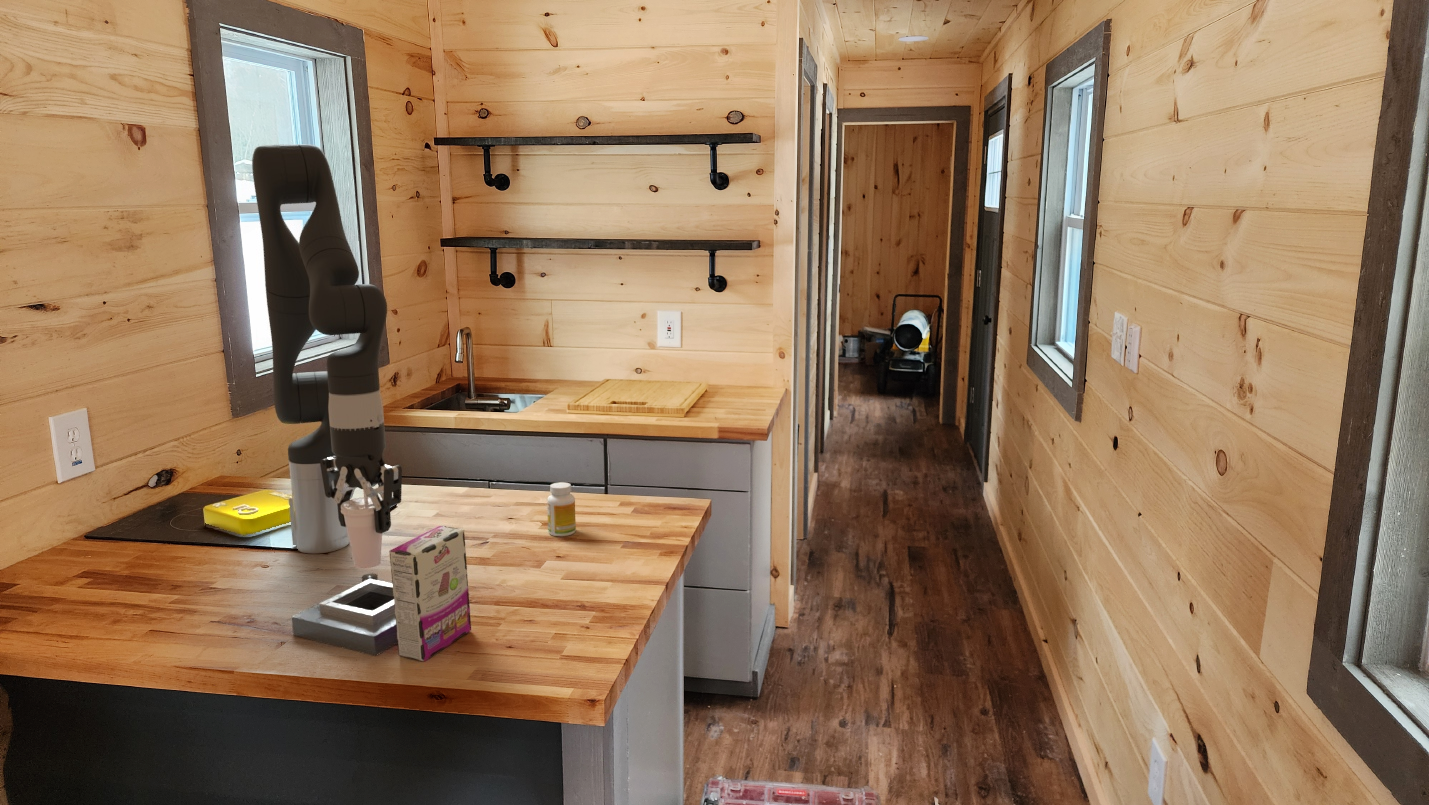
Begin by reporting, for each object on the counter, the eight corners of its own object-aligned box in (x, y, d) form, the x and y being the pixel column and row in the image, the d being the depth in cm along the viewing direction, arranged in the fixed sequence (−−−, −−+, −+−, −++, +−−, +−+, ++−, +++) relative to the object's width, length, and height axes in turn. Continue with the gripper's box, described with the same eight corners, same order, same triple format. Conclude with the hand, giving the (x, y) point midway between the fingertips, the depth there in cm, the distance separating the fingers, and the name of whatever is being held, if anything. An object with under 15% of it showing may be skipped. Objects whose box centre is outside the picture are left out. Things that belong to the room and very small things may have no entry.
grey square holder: (293, 635, 142) (290, 607, 141) (371, 595, 156) (369, 570, 155) (375, 655, 135) (373, 626, 134) (448, 612, 150) (447, 586, 149)
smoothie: (375, 573, 140) (368, 482, 137) (336, 570, 141) (328, 480, 138) (397, 557, 146) (391, 470, 143) (360, 554, 147) (353, 468, 144)
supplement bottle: (581, 530, 187) (580, 483, 185) (563, 538, 182) (561, 490, 180) (560, 525, 190) (559, 479, 188) (542, 533, 185) (540, 486, 183)
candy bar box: (445, 625, 145) (439, 524, 142) (472, 631, 143) (466, 528, 140) (395, 656, 135) (387, 548, 132) (423, 663, 133) (416, 554, 130)
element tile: (313, 519, 194) (311, 497, 193) (245, 541, 182) (243, 517, 181) (269, 507, 202) (267, 486, 201) (200, 527, 189) (198, 504, 188)
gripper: (300, 421, 138) (310, 529, 142) (376, 431, 133) (384, 543, 136) (339, 411, 145) (347, 515, 149) (412, 420, 139) (419, 527, 143)
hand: (365, 528), depth 142 cm, fingers closed on smoothie, 6 cm apart
